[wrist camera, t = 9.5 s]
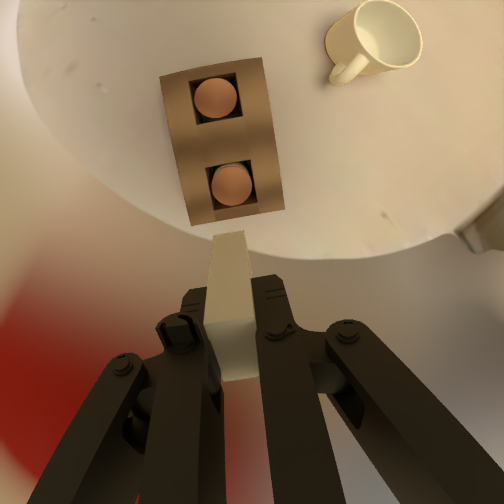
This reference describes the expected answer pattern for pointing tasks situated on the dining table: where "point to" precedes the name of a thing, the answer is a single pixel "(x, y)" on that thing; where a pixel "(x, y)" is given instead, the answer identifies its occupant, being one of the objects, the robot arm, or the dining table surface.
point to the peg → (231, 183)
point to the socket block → (223, 140)
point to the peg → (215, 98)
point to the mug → (372, 41)
